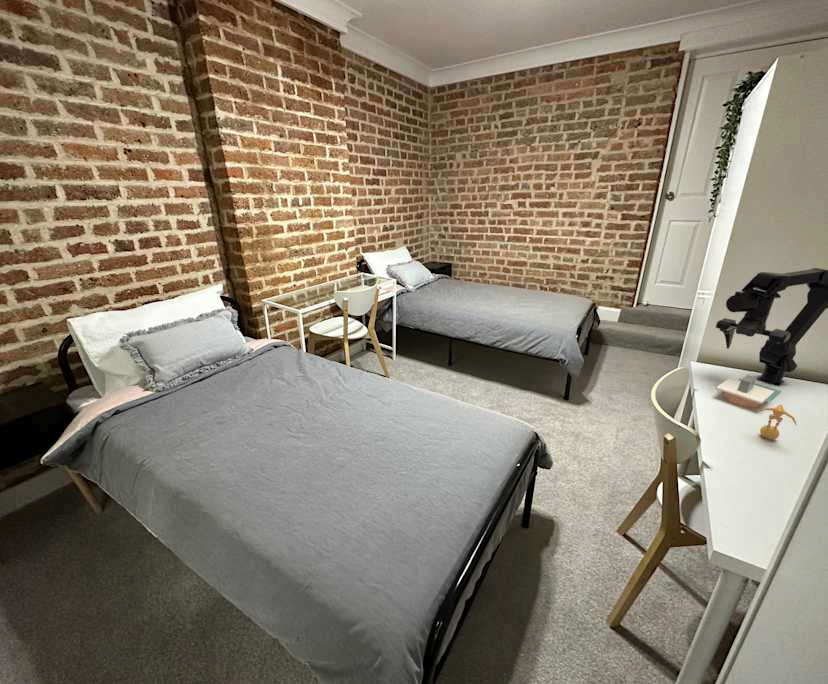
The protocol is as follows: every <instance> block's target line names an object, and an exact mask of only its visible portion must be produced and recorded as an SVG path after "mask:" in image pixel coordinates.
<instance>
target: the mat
mask: <svg viewBox="0 0 828 684" xmlns="http://www.w3.org/2000/svg"><path fill="white" fill-rule="evenodd" d="M741 379H742V378H739V379H738V380H740V381H741ZM754 385H756V386H759V387H763V388H766V389H769V390H772V391H774V393H773V394H772V395H771V396H770V397H769V398H768V399H766V400H765V401H766V402H769V403H770V402H772V401H774V400H775V399H776V398H777V397H778V396H779V395H780V394H781V393H782V392H783V391H782V390H778V389H776V388H773V387H769V386H766V385H763V384H760V383H756V382H755V384H754Z"/></svg>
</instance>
